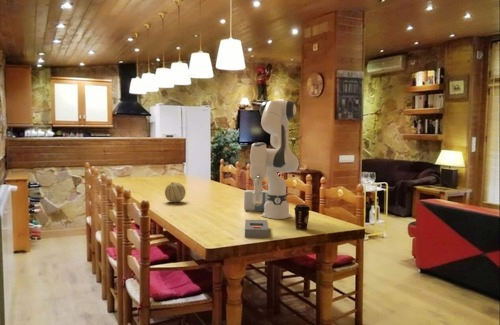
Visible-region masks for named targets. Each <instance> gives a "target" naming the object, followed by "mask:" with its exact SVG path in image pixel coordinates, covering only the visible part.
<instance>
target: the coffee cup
mask: <svg viewBox="0 0 500 325" xmlns="http://www.w3.org/2000/svg"><path fill="white" fill-rule="evenodd" d="M293 210H294V220H295V229H296V230H298V231H306V230H307V229H308V224H309V218H310V217H309V216H310V210H311V208H310V206H309V205H307V204H296V205H295V207H294V209H293Z"/></svg>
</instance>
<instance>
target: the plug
mask: <svg viewBox="0 0 500 325" xmlns="http://www.w3.org/2000/svg"><path fill="white" fill-rule="evenodd" d="M262 196H263V193H261V194H260V197H259V201H256V194H255V192H253V203H254V205H256V203H257V206H258V204H259V206H261V204H262Z"/></svg>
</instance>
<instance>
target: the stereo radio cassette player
mask: <svg viewBox="0 0 500 325" xmlns="http://www.w3.org/2000/svg"><path fill="white" fill-rule="evenodd" d="M265 186H268V183H266V184H264V185H263V184H262V188H263V187H265ZM253 192H254V189H253V190H252V189H246V190H244V197H243V198H244V200H243V202H244V203H243V206H244V207H243V208H244V210H245V211H246V212H247V211H253V212H255V211H258V212H264V209H265V208H264V205H265V203H266V202H267V201H268V200H267V196H268V190H263V189H262V193H263V196H262V204H261V206H259V204H258V206H257V203H256V205H254V203H253Z"/></svg>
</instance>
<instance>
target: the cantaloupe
mask: <svg viewBox="0 0 500 325" xmlns="http://www.w3.org/2000/svg"><path fill="white" fill-rule="evenodd" d="M164 196H165V198H166V200H167V201H168V202H170V203H180V202H182V201H183V200H184V198H185V197H186V188H185V186H184V185H183V184H182V183H180V182H175V181H174V182H171V183H169V184H167V186H166V187H165V189H164Z"/></svg>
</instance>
